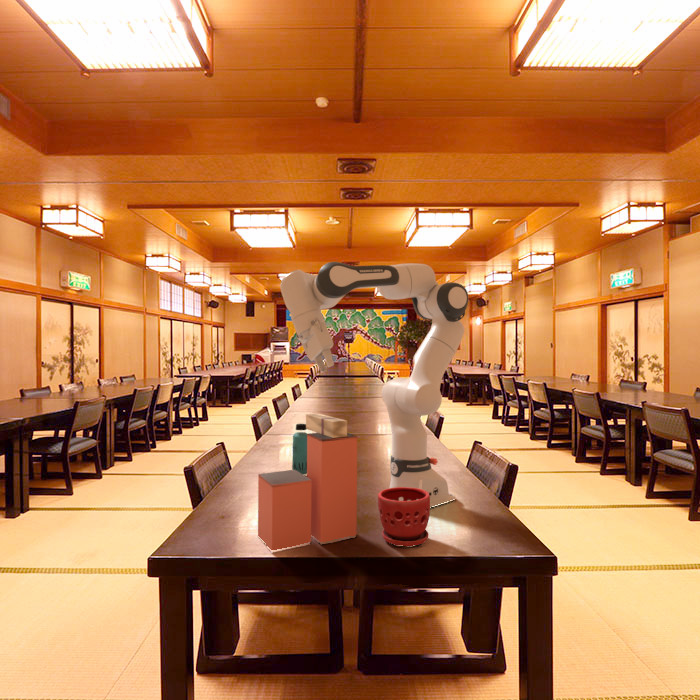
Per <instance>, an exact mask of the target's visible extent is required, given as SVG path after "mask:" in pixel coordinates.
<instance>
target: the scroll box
mask: <svg viewBox="0 0 700 700" xmlns="http://www.w3.org/2000/svg"><path fill="white" fill-rule="evenodd" d="M305 424H306V429H307V431H308V430H309V431H311V432H313V433H320V434H322V435H326V436H329V437H332V438H336V437H347V433H348V420H346V419H342V418H338V417H334V416H331V415H327V414H322V413H310V414H305Z"/></svg>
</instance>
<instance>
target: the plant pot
mask: <svg viewBox="0 0 700 700" xmlns="http://www.w3.org/2000/svg"><path fill="white" fill-rule="evenodd" d="M400 497H403V501H399V498H400ZM417 499H418V500H417ZM407 500H411V501H407ZM377 504H378V505H377V507H378V512H379V519H380V523H381V525H382V528H383V530H382V532H381V534H382V535H381V536H382V538H383V539H384V540H385V542H387V543H388V542H389V544H390V543H392V544H395V545H403V546H413V545H419V544H421V545H423V544H424V543H426V542H427V541H428V539H429V532H428V530H427V527H428V524H429V519H430V513H431V509H430V495H429V493H428V492H426V491H425V490H422V489H418V488H411V487H395V488H390V487H389V488H384V489H382V490H381V491H379V492H378V494H377ZM422 543H423V544H422ZM392 544H391V545H392ZM419 546H420V545H419Z"/></svg>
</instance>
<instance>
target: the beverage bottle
mask: <svg viewBox="0 0 700 700" xmlns="http://www.w3.org/2000/svg"><path fill="white" fill-rule="evenodd" d="M295 430H296V431H298V432H295V433H294V434H293V435H292V447H291V448H292V461H291V462H292V463H291V464H292V465H291V470H296V471H298V472H300V473H301V474H303V475H304V476H305V475H307V434H308V433H307V432H305V431H306V430H307V431H308V429H306V423H297V424H295Z"/></svg>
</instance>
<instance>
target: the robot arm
mask: <svg viewBox="0 0 700 700" xmlns="http://www.w3.org/2000/svg"><path fill="white" fill-rule="evenodd" d="M279 285H280V286H279V287H280V292H281V297H283V298H282V299H283V302H284V304H285V307H286V309H287V310H288V311H289V313H290V318H291V322H292V325H293V327H294V330H295V335H296V339H297V340H299V341H300V343H301V346H302V347H303V348H302V349H303V350H304V352H305V354H306V356H307V358H308V359H309V360H310V361H311V362H314V361H315V364H316V365H317V367H318V368H319V370H320V372H321V373H324V372H327V371H328V368H331V367H333V366H335V363H334V360H333V355H332V351H331V349H332V348H333V346H334V340H333V338H332V336H331V334H330V331H329V329H328V328H327V323H326V321H325V318H324V316H323V313H322V310H327V309H331V308H333V307H335V306H336V305H337V304H338V303H339V302H340V301H342V299H343V298H344V297H345V296H346V295H347V294H348V293H350V292H352V291H354V290H357V289H369V288H370V289H371V288H376V289H377V290H378V292H379V294H380V295H381V296H382V297H383V298H385V299H386V300H396V301H397V300H404V299H406V300H407V299H410V298H411V301H412V305H413V309H414V311H415V313H416V315H417V316H418V317H419V318H421V319H424V320H429V321H431V326H430V330H429V331H428V332H427V334H426V336H425V338H424V339H423V341H422V342H421V344H420V345H419V347H418V349H417V350H416V352H415V354H414V355H413V357H412V358H413V359H412V360H413V361H412V362H413V367H412V372H411V373H410V374H411V375H410V376H409V377H408V378H406V377H397V378H396V377H395V378H392V379H390V380H387V381H386V382H385V383H384V384H383V387H382V389H381V398H382V401H383V402H384V404H385V406H386V409H387V413H388V419H389V424H390V428H391V453H392V454H391V456H390V473H391V474H390V482H389V488H395V487H411V488H418V489H422V490H425V491H426V492H428V493H429V495H430V507H432V506H435V505H438V504H441V503H444V502H447V501H450V500H453V499H456V500H457V497H456V496H455V495H454V494H453V493H452V492H450V491H449V486H448V485H449V484H448V481H447V480H446V479H445V478H444V477H443V476H442V475H441V474H440V473H438V471H436V470H434V468H432V465H434V466H435V465H436V466H437V464H438V463H439V461H438V459H437V458H434V457H429V456H428V432H427V430H426V429H425V427H424V425H423V423H422V420H421V416H422V417H423V416H429V415H433V414H435V413H436V412H438V410H439V409H440V408H441V404H442V401H443V400H442V393H441V390H440V389H441V383H442V380H443V377H444V374H445V372H446V371H447V368H448V366H449V365H450V364H451V362H452V360H453V358H454V356H455V355H456V352H457V351H458V349H459V346H460V345H461V342H462V341H463V340H462V339H463V337H464V334H465V326H464V324H463V322H462V321H461V320H462V319H463V318H464V317H465V314H466V310H467V308H468V304H469V293H468V291H467V289H466V287H465V286H464V285H463V284H461V283H458V282H446V283H441V284H439V283H438V282H437V280H436V273H435V271H434V270H433V268H432V266H430V265H429V264H425V263H398V264H391V265H385V264H381V265H380V264H377V265H374V264H373V265H350V264H346V263H344V262H340V261H339V262H338V261H330V262H326V263H325V264H323V265H322V266H321V268H320V269H319V271H318V274H312V273H307V272H305V271H303V270H302V269H296V270H292V271H291V272H289V273H288V274H286V275H284V277H283V278H282V280H281V282H280V284H279ZM323 357H324V359H323ZM324 360H325V362H324ZM417 500H418V499H417ZM399 501H403V497H400V498H399ZM407 501H411V500H407Z"/></svg>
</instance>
